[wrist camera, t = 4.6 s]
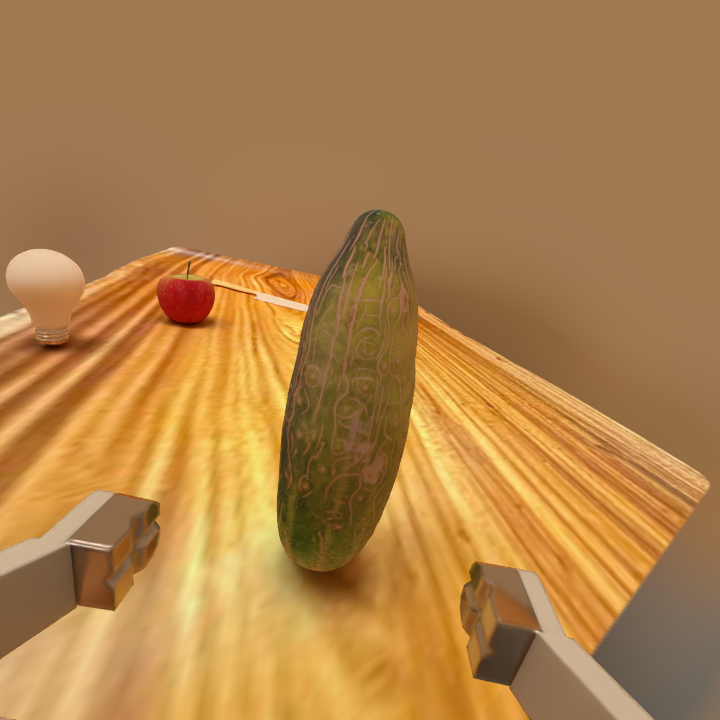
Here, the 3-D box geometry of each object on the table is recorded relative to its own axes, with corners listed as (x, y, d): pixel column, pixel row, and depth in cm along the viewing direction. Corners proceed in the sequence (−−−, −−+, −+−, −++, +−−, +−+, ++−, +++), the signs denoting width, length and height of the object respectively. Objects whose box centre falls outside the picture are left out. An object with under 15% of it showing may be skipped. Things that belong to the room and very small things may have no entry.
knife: (327, 316, 79) (336, 311, 83) (203, 280, 88) (217, 277, 92) (326, 322, 79) (336, 316, 83) (203, 286, 89) (217, 282, 93)
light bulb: (89, 336, 47) (83, 249, 44) (88, 355, 42) (81, 258, 39) (20, 336, 44) (7, 241, 40) (10, 357, 39) (-6, 249, 35)
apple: (160, 329, 55) (160, 260, 51) (154, 313, 61) (154, 251, 58) (218, 329, 59) (222, 266, 56) (206, 315, 66) (209, 257, 62)
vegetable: (387, 562, 23) (479, 228, 16) (330, 647, 18) (429, 208, 11) (312, 514, 26) (364, 209, 19) (242, 575, 20) (281, 186, 14)
